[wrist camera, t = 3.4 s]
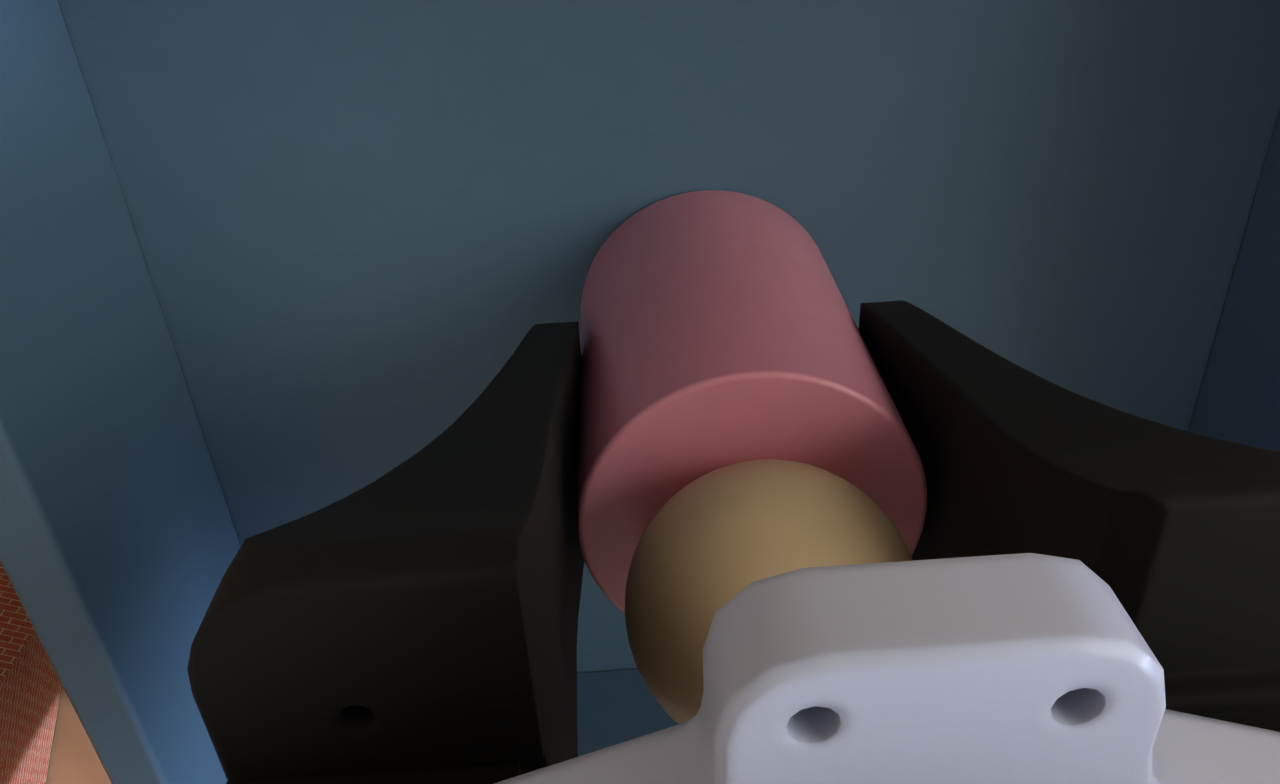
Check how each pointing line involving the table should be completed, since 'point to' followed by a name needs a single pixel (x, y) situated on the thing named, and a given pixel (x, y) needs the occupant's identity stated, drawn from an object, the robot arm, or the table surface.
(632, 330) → the doll
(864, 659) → the robot arm
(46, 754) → the house
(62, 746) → the table surface
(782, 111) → the blue tray
